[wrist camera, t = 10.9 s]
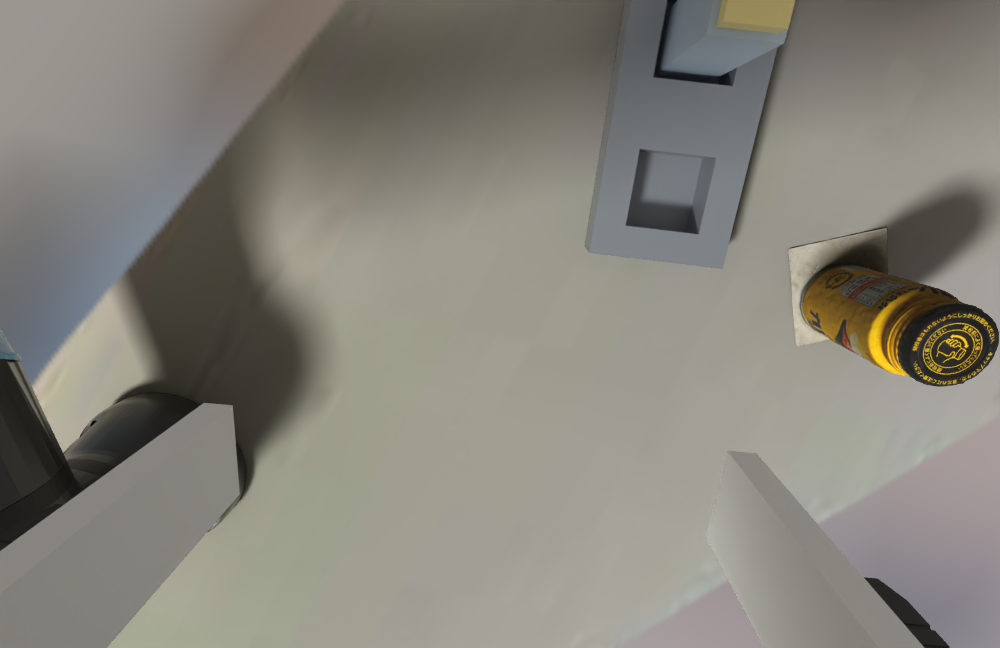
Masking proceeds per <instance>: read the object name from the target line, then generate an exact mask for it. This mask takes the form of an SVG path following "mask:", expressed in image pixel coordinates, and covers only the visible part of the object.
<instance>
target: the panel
mask: <svg viewBox="0 0 1000 648" xmlns="http://www.w3.org/2000/svg"><path fill="white" fill-rule="evenodd" d="M676 1H677V0H625V1H624V7H623V14H622V20H621V26H620V32H619V38H618V44H617V50H616V57H615V63H614V69H613V75H612V81H611V87H610V93H609V100H608V106H607V112H606V118H605V124H604V130H603V136H602V143H601V149H600V155H599V161H598V167H597V173H596V180H595V186H594V192H593V198H592V204H591V210H590V216H589V223H588V229H587V235H586V241H585V247H586V249H587V250H588V251H589V253H595V254H604V255H612V256H620V257H628V258H637V259H645V260H653V261H662V262H670V263H678V264H686V265H695V266H703V267H711V268H720V269H723V265H724V261H725V257H726V253H727V249H728V245H729V241H730V237H731V233H732V229H733V224H734V220H735V216H736V212H737V208H738V204H739V200H740V196H741V192H742V188H743V184H744V180H745V176H746V172H747V168H748V164H749V160H750V156H751V152H752V148H753V144H754V140H755V136H756V132H757V128H758V124H759V120H760V116H761V112H762V108H763V104H764V100H765V96H766V92H767V88H768V84H769V80H770V76H771V72H772V68H773V64H774V60H775V56H776V52H777V48H778V47H776V48H774V49H772V50H770V51H768V52H766V53H765V54H763V55H761V56H759V57H757V58H755V59H753V60H751V61H749V62H747V63H745V64H743V65H741V66H739V67H737V68H735V69H733V70H731V71H729V72H727V73H725V74H723V75H721V76H719V77H717V78H715V79H714V80H712V81H710V82H708V81H699V80H690V79H681V78H672V77H663V76H655V70H656V65H657V60H658V54H659V49H660V43H661V38H662V33H663V27H664V22H665V16H666V13H667V12H668V11H669V10H670V8H671V7H672V6H673V5H674V4H675V2H676Z"/></svg>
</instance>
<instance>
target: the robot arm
mask: <svg viewBox="0 0 1000 648" xmlns="http://www.w3.org/2000/svg"><path fill="white" fill-rule="evenodd" d="M20 361H22V358H21V356H19V354H17V353H15V352H14V351H13V350H12V349H11V347H10V345H9V343H8V342H7V340H6V338H5V336H4V334H3V333H2V331H1V329H0V648H107V647H108V646H109V644H110V643H111V642H112V641H113V640H114V639H115V638H116V636H117V635H118V634H119V633H120V632H121V631H122V629H123V628H124V627H125V626H126V625H127V624H128V623H129V621H130V620H131V619H132V618H133V617H134V616H135V614H136V613H137V612H138V611H139V610H140V609H141V608H142V606H143V605H144V604H145V603H146V602H147V601H148V600H149V598H150V597H151V596H152V595H153V594H154V593H155V591H156V590H157V589H158V588H159V587H160V586H161V585H162V583H163V582H164V581H165V580H166V579H167V578H168V576H169V575H170V574H171V573H172V572H173V571H174V570H175V568H176V567H177V566H178V565H179V564H180V563H181V561H182V560H183V559H184V558H185V557H186V556H187V555H188V553H189V552H190V551H191V550H192V549H193V548H194V546H195V545H196V544H197V543H198V542H199V541H200V540H201V538H202V537H203V536H204V535H205V534H206V533H207V532H209V531H211V530H212V529H213V528H215V527H216V526H217V525H218V524H219V523H220V522H221V521H222V520H223V519H224V518H225V517H226V516H227V515H228V514H229V513H230V511H231V510H232V509H233V508H234V507H235V506H236V504H237V503H238V501H239V499H240V497H241V495H242V493H243V489H244V485H245V465H244V461H243V457H242V454H241V451H240V449H239V447H238V445H237V443H236V440H235V428H234V415H233V405H223V404H212V403H203V404H202V405H200V406H199V405H197V404H195V403H193V402H191V401H188V400H186V399H183V398H181V397H177V396H173V395H169V394H162V393H145V394H138V395H134V396H131V397H128V398H126V399H124V400H122V401H120V402H118V403H116V404H114V405H113V406H111V407H109V408H107V409H106V410H104V411H102V412H101V413H100V414H98V415H97V416H96V417H95V418H93V419H92V420H91V421H90V423H89V424H88V425H87V426H86V427H85V429H84V430H83V432H82V433H81V435H80V437H79V439H77V440H76V441H75V442H74V443H73V444H72V445H71V446H70V447H69V448H68V449H67V450H66V451H65V452H64V453H63V452H62V450H61V448H60V446H59V444H58V442H57V440H56V438H55V435H54V433H53V431H52V429H51V427H50V425H49V423H48V421H47V419H46V416H45V414H44V412H43V410H42V408H41V406H40V404H39V402H38V399H37V397H36V395H35V393H34V391H33V389H32V387H31V385H30V382H29V380H28V378H27V376H26V374H25V372H24V370H23V368H22V366H21V363H20ZM706 539H707V540H708V542H709V544H710V546H711V548H712V550H713V552H714V554H715V556H716V558H717V560H718V561H719V563H720V565H721V567H722V569H723V571H724V573H725V575H726V577H727V579H728V581H729V582H730V584H731V586H732V588H733V590H734V592H735V594H736V595H737V598H738V599H739V602H740V603H741V605H742V607H743V609H744V611H745V613H746V615H747V617H748V619H749V621H750V623H751V624H752V626H753V628H754V630H755V632H756V634H757V636H758V638H759V640H760V642H761V644H762V645H763V647H764V648H949V646H948V645H947V643H946V642H945V641H944V640H943V639H942V638H941V637H940V636H939V635H938V634H937V633H936V631H933V630H931V629H930V625H929V624H928V623H927V622H926V621H925V620H924V619H923V617H922V616H921V615H920V614H919V613H918V612H917V611H916V610H915V609H914V608H913V606H911V604H910V603H909V602H908V601H907V600H906V599H904V598H903V597H902V596H900V595H899V594H898V593H896V592H895V591H893V590H892V589H891V588H889V587H888V586H887V585H885V584H884V583H883V582H881V581H880V580H879V579H875V578H864V577H863V576H862V575H861V574H860V573H859V572H858V570H857V569H856V568H855V567H854V566H853V565H852V564H851V562H850V561H849V560H848V559H847V558H846V557H845V555H844V554H843V553H842V552H841V551H840V550H839V548H838V547H837V546H836V545H835V544H834V543H833V542H832V540H831V539H830V538H829V537H828V536H827V535H826V533H825V532H824V531H823V530H822V529H821V528H820V526H819V525H818V524H817V523H816V522H815V521H814V519H813V518H812V517H811V516H810V515H809V514H808V513H807V511H806V510H805V509H804V508H803V507H802V506H801V504H800V503H799V502H798V501H797V500H796V499H795V497H794V496H793V495H792V494H791V493H790V492H789V491H788V489H787V488H786V487H785V486H784V485H783V484H782V482H781V481H780V480H779V479H778V478H777V477H776V475H775V474H774V473H773V472H772V471H771V470H770V469H769V467H768V466H767V465H766V464H765V463H764V462H763V460H762V459H761V458H760V457H759V456H758V455H757V454H756V453H745V452H735V451H727V455H726V459H725V463H724V467H723V471H722V475H721V479H720V483H719V487H718V491H717V495H716V499H715V503H714V507H713V511H712V515H711V519H710V523H709V527H708V532H707V536H706Z"/></svg>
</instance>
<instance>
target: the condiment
mask: <svg viewBox="0 0 1000 648" xmlns="http://www.w3.org/2000/svg"><path fill="white" fill-rule="evenodd" d="M788 250H789V259H790V271H791V284H792V304H793V315H794V328H795V339H796V345H797V346H801V345H806V344H811V343H816V342H820V341H824V340H832V341H834V342H835V343H837V344H839V345H841V346H843V347H845V348H847V349H848V350H850V351H852V352H854V353H856V354H858V355H859V356H861V357H863V358H865V359H867V360H868V361H870V362H871V363H873V364H874V365H876V366H878V367H880V368H882V369H885V370H887V371H888V372H891V373H894V374H898V375H906V376H909V377H912V378H914V379H915V380H916V381H919V382H921V383H923V384H926V385H932V386H950V385H957V384H962V383H964V382H965V381H967V380H969V379H972V378H973V377H975V376H977V375H978V374H979V373H980V372H981V371H982V370H983V369H984V368H985V367H986V366H987V365H988V364H989V363H990V361H991V360H992V359H993V357H994V354H995V352H996V350H997V347H998V344H999V332H998V329H997V326H996V323H995V322H994V321H993V319H992V318H991V317H990V316H988V315H987V314H986V313H984V312H983V311H982V310H981V309H979V308H977V307H976V306H973V305H968V304H964V303H962V302H960V301H959V300H958V299H957V298H956V297H954V296H953V295H951V294H949V293H948V292H946V291H943V290H940V289H938V288H934V287H930V286H927V285H923V284H920V283H916V282H912V281H909V280H906V279H902V278H899V277H895V276H892V275H888V268H887V228H884V229H879V230H875V231H869V232H864V233H859V234H855V235H850V236H845V237H841V238H836V239H832V240H826V241H823V242H819V243H814V244H809V245H804V246H801V247H796V248H792V249H788ZM817 265H819V267H818V268H817V269H816V267H817ZM868 268H869V269H868ZM814 270H816V272H815V273H813V271H814Z"/></svg>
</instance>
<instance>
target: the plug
mask: <svg viewBox="0 0 1000 648" xmlns="http://www.w3.org/2000/svg"><path fill="white" fill-rule="evenodd" d="M794 4H795V0H677V1H676V2H675V4H674V5H673V6H672V7H671V8H670V10H669V11H668V12H667V13H666V16H665V22H664V27H663V33H662V38H661V43H660V49H659V54H658V60H657V65H656V70H655V76H663V77H672V78H681V79H690V80H699V81H708V82H710V81H712V80H714V79H715V78H717V77H719V76H721V75H723V74H725V73H727V72H729V71H731V70H733V69H735V68H737V67H739V66H741V65H743V64H745V63H747V62H749V61H751V60H753V59H755V58H757V57H759V56H761V55H763V54H765V53H766V52H768V51H770V50H772V49H774V48H776V47H778V46H780V45H782V44H784V43H785V39H786V35H787V31H788V28H789V24H790V20H791V16H792V12H793V8H794Z"/></svg>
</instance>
